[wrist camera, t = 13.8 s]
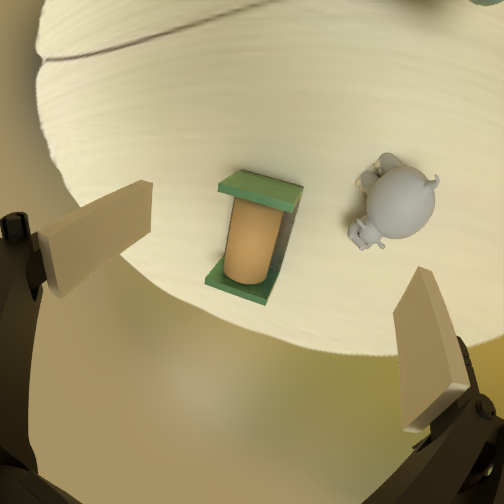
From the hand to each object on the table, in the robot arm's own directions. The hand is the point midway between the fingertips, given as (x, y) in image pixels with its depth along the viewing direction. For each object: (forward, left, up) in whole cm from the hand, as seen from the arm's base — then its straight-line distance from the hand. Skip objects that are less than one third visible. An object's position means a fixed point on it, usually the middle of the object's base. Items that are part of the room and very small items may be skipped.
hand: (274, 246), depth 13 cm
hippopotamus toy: (+3, +11, -32) cm, 34 cm away
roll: (+14, -7, -30) cm, 34 cm away
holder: (+14, -6, -32) cm, 35 cm away
